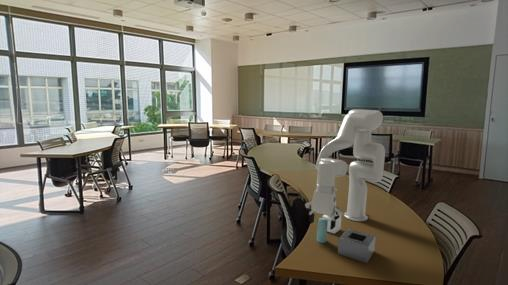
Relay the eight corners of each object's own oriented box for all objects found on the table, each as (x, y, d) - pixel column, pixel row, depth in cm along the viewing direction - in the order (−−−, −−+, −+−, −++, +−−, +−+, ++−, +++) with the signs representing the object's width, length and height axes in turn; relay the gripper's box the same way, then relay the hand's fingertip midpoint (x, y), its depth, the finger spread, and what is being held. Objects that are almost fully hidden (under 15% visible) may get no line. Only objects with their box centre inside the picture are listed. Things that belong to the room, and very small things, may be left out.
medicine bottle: (327, 225, 158) (329, 203, 157) (340, 229, 154) (342, 206, 152) (320, 229, 153) (322, 206, 151) (334, 234, 148) (336, 210, 147)
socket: (346, 243, 139) (347, 228, 138) (374, 251, 132) (375, 236, 131) (337, 253, 129) (338, 237, 128) (367, 263, 123) (368, 246, 122)
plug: (318, 237, 143) (320, 217, 142) (327, 240, 141) (329, 219, 140) (314, 241, 140) (316, 220, 138) (324, 244, 137) (325, 222, 136)
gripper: (346, 190, 135) (343, 228, 137) (310, 183, 145) (307, 218, 147) (341, 194, 129) (337, 233, 131) (303, 186, 139) (300, 223, 141)
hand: (321, 225), depth 139 cm, fingers open, 9 cm apart
